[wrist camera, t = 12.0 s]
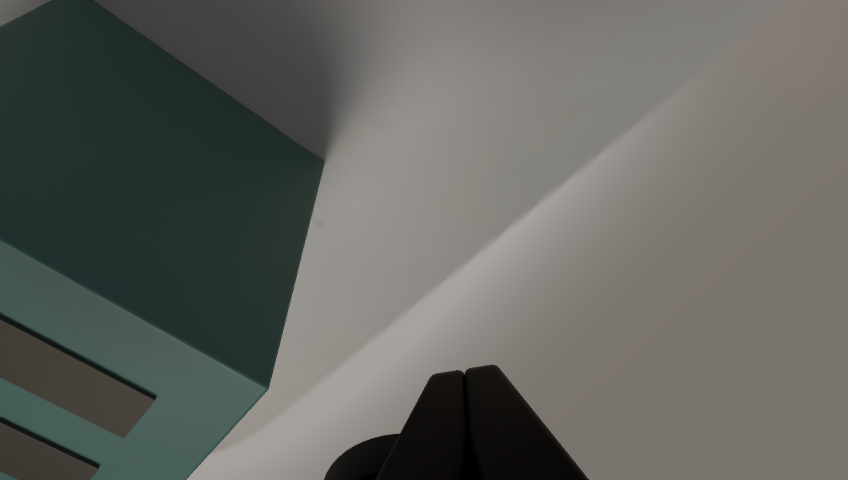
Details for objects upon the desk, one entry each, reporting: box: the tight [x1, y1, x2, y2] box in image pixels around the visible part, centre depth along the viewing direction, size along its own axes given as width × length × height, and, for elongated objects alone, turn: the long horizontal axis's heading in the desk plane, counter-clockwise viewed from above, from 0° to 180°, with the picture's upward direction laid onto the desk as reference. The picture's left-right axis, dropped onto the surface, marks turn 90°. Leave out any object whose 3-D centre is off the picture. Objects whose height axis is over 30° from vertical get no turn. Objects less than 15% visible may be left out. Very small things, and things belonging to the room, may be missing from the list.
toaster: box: [0, 0, 325, 480], centre depth 18 cm, size 8×10×10 cm
